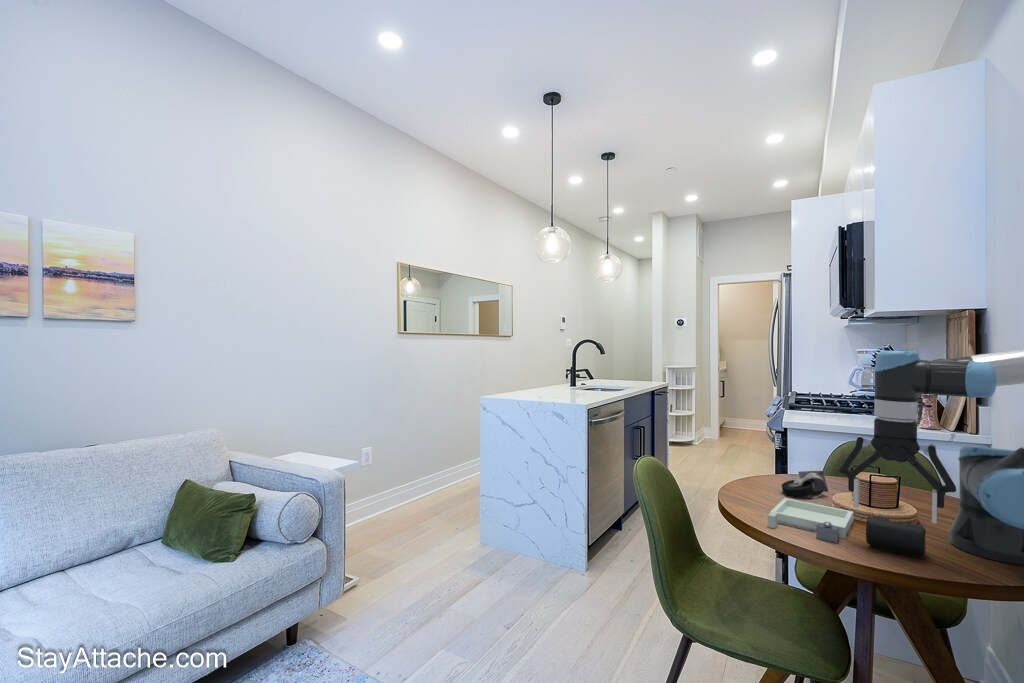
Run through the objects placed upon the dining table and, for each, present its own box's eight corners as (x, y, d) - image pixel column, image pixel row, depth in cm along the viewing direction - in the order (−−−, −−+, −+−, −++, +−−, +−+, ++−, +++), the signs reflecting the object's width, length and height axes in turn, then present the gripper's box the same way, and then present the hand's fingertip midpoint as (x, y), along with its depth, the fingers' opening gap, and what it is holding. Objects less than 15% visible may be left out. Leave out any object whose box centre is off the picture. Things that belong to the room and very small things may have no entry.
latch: (838, 539, 112) (838, 523, 112) (836, 543, 110) (836, 527, 110) (818, 534, 115) (818, 519, 115) (816, 538, 112) (816, 522, 112)
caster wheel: (783, 504, 144) (787, 491, 152) (826, 504, 137) (828, 490, 145) (777, 483, 144) (782, 471, 152) (820, 482, 137) (822, 469, 145)
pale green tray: (853, 521, 123) (853, 510, 123) (841, 544, 109) (841, 531, 109) (784, 507, 134) (784, 496, 134) (765, 526, 120) (765, 514, 120)
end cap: (865, 550, 107) (865, 520, 107) (870, 540, 112) (870, 512, 112) (924, 564, 100) (924, 532, 100) (926, 553, 105) (926, 523, 105)
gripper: (972, 424, 100) (970, 524, 100) (831, 411, 117) (830, 496, 117) (973, 428, 95) (971, 534, 95) (826, 414, 111) (824, 503, 111)
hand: (893, 513), depth 106 cm, fingers open, 13 cm apart
